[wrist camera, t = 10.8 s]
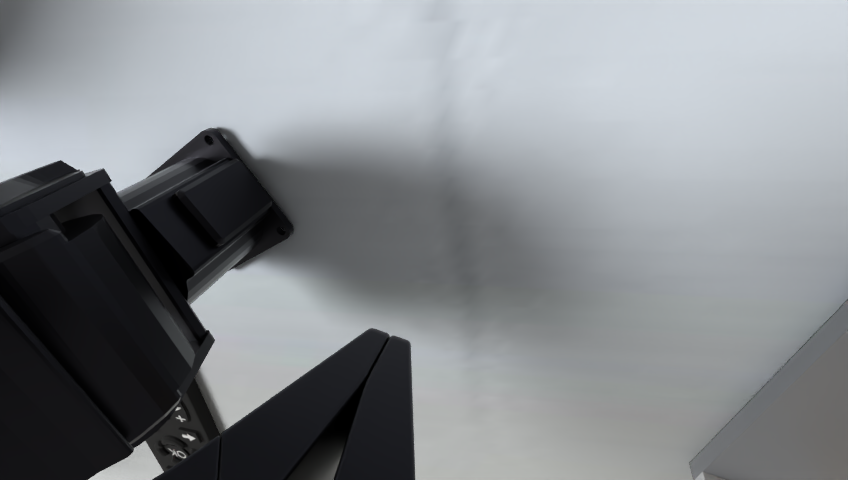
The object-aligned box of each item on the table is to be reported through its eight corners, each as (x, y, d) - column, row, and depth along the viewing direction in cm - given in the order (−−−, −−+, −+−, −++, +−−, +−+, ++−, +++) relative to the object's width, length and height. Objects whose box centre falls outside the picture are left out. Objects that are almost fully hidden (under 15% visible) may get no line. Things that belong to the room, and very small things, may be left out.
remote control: (202, 505, 47) (189, 525, 45) (57, 245, 31) (29, 260, 29) (265, 523, 45) (254, 544, 43) (146, 255, 29) (121, 272, 27)
